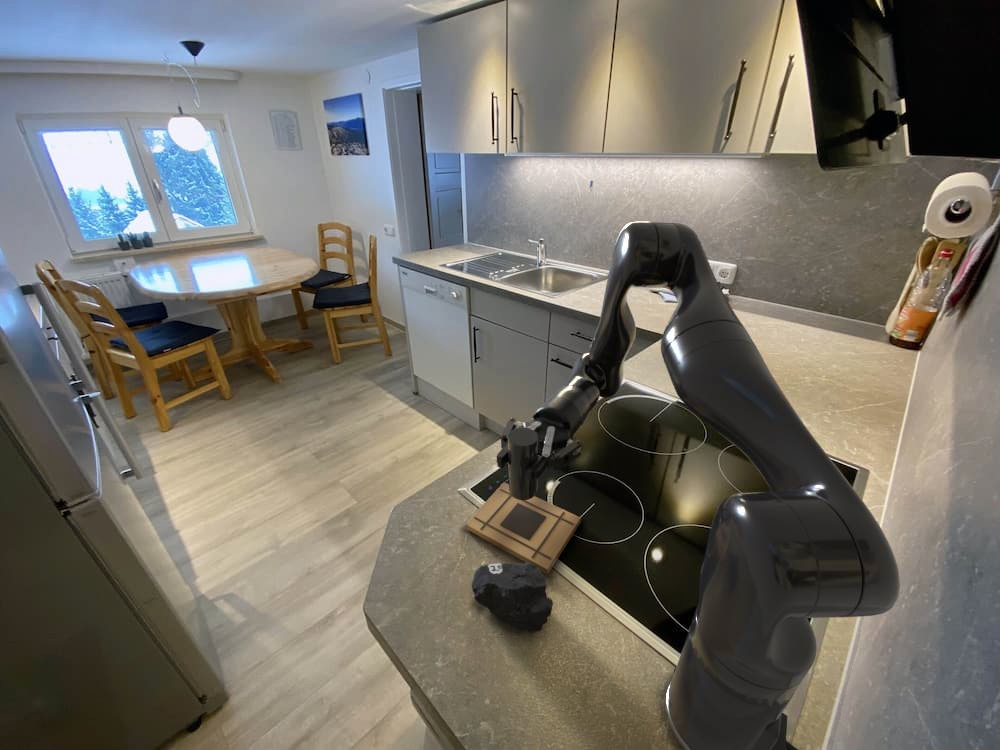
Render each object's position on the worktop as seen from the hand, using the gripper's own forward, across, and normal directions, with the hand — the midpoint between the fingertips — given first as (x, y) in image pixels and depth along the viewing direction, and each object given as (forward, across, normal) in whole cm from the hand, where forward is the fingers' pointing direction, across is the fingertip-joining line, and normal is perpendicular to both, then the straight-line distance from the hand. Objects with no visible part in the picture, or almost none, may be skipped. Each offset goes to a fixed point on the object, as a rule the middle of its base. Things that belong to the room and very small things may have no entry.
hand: (514, 469), depth 63 cm
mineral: (+10, +6, +15) cm, 19 cm away
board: (-2, 0, +15) cm, 15 cm away
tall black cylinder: (-3, 0, +6) cm, 7 cm away
